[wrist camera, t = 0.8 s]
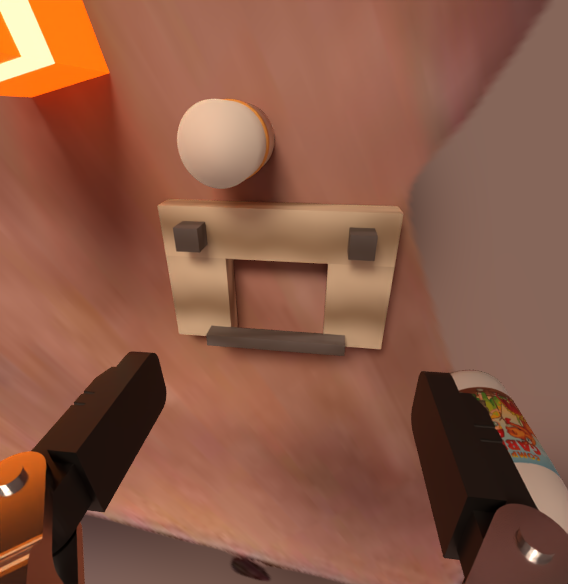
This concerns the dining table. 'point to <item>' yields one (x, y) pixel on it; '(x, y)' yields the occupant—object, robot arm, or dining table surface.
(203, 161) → the orange-banded white cylinder
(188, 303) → the shelf board
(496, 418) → the milk bottle
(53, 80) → the orange juice
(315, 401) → the dining table surface
